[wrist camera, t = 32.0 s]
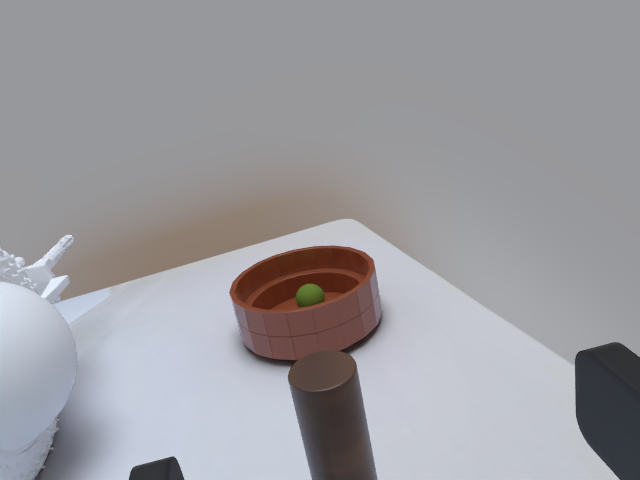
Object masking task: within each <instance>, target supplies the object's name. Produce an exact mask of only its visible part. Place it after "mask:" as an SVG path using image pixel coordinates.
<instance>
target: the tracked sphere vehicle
mask: <svg viewBox="0 0 640 480" xmlns="http://www.w3.org/2000/svg"><path fill="white" fill-rule="evenodd" d="M59 241H60V240H59ZM73 242H74V238H73V237H72V235H66V236H64V237H63V238H61V241H60V242H58V243H57V244H56V246H54V247H53V248H52V249H51V250H50V251H49V252H48V253H47V254H46V255H45V256H44V257H43V258H42V259H41V260H38V261H37V262H36V263H35V264H32V265H31V266H27V267H24V263H25V261H24V259H23V258H21V257H16V258H15V259H14V257H15V256H14V255H13V254H12V255H11V256H10V255H9V254H8V253H7V252H5V251H4V250H2V249H1V246H0V480H34V479H35V477H37V475H38V473H39V472H40V470H41V468H42V469H44V468H45V465H44V466H43V464H44V462H45V459H46V458H47V455H48V453H49V450H51V451H53V448H54V447H52V448H51V444H52V443H53V442H52V441H53V437H54V433H55V432H58V430H59V427H57V428H56V424H57V420H60V419H56V418H58V414H59V412H60V411H61V410H62V408H63V407H64V406H65V404H66V402H67V400H68V398H69V396H70V393H71V390H72V388H73V385H74V381H75V377H76V371H77V352H76V345H75V341H74V338H73V334H72V332H71V330H70V328H69V325H68V323H67V322H66V320H65V319H64V317H63V316H62V315H61V314H60V312H59V311H58V310H57V309H56V308H55V307H54V306H53V305H52V304H54V303H58V302H59V301H60V300H61V298H60V295H59V294H60V293H61V292H62V291H63V290H64V289H65V288H66V287H67V286H68V284H69V283H70V280H69V278H68V276H67V275H66V276H61V277H57V278H55V275H54V273H52V272H51V269H52V267H53V265H54V264H56V262H57V261H58V260H59V259H60V258H61V257H62V256H63V254H64V252H65V251H66V250H67V248H69V246H70V244H72V243H73ZM70 247H71V246H70ZM55 430H57V431H55Z"/></svg>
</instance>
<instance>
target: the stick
mask: <svg viewBox="0 0 640 480" xmlns="http://www.w3.org/2000/svg"><path fill="white" fill-rule="evenodd" d="M288 381H289V385H290V389H291V393H292V398H293V402H294V406H295V410H296V414H297V419H298V423H299V427H300V431H301V435H302V440H303V444H304V448H305V452H306V456H307V461H308V465H309V469H310V473H311V477H312V480H377V475H376V469H375V464H374V458H373V453H372V447H371V442H370V436H369V431H368V425H367V420H366V414H365V409H364V403H363V398H362V392H361V387H360V381H359V376H358V371H357V365H356V362H355V360H354V359H353V358H352V357H351V356H350V355H348V354H346V353H344V352H341V351H335V350H326V351H319V352H315V353H312V354H309V355H307V356H305V357H303V358H301V359H299V360H298V361H297V362H296V363H295V364H294V365H293V366H292V367H291V369H290V371H289V374H288Z"/></svg>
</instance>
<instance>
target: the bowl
mask: <svg viewBox="0 0 640 480" xmlns="http://www.w3.org/2000/svg"><path fill="white" fill-rule="evenodd" d="M306 284H315V285H317V286H319V287H320V288H321V289H322V290H323V292H324V295H325V302H322V303H319V304H316V305H312V306H308V307H302V308H299V307H298V306H297V303H296V294H297V291H298V290H299V289H300V288H301V287H302V286H303V285H306ZM229 293H230V297H231V301H232V305H233V308H234V312H235V316H236V320H237V323H238V327H239V331H240V335H241V337H242V340H243V343H244V345H245V346H246V347H247V348H249V349H250V350H251V351H253V352H254V353H255V354H257V355H261V356H264V357H268V358H271V359H284V360H299V359H301V358H303V357H305V356H307V355H309V354H312V353H315V352H319V351H326V350H335V351H340V350H343V349H345V348H347V347H349V346H351V345H352V344H354V343H356V342H358V341H359V340H361V339H363V338H364V337H366V336H367V335H368V334H369V333H370V332H371V331H372V330H373V329H374V328H375V327H376V326H377V324H378V322H379V319H380V317H381V314H382V309H381V303H380V296H379V290H378V283H377V277H376V271H375V266H374V261H373V259H372V258H371V257H370V256H368V255H367V254H366V253H365V252H362V251H360V250H357V249H354V248H351V247H342V246H315V247H308V248H302V249H296V250H292V251H288V252H285V253H281V254H278V255H274V256H272V257H269V258H267V259H265V260H262V261H260V262H258V263H256V264H254V265H253V266H251V267H250V268H248V269H247V270H245V271H243V272H242V273H241V274H240V275H239V276H238V277H237V278H236V279H235V280H234V281H233V283H232V286H231V289H230V292H229Z"/></svg>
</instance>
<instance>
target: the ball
mask: <svg viewBox="0 0 640 480" xmlns="http://www.w3.org/2000/svg"><path fill="white" fill-rule="evenodd" d="M322 302H325V295H324V292H323V290H322V289H321V288H320V287H319V286H317V285H315V284H306V285H303V286H302V287H301V288H300V289H299V290H298V291H297V294H296V303H297V306H298V307H299V308H302V307H308V306H312V305H316V304H319V303H322Z"/></svg>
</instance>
